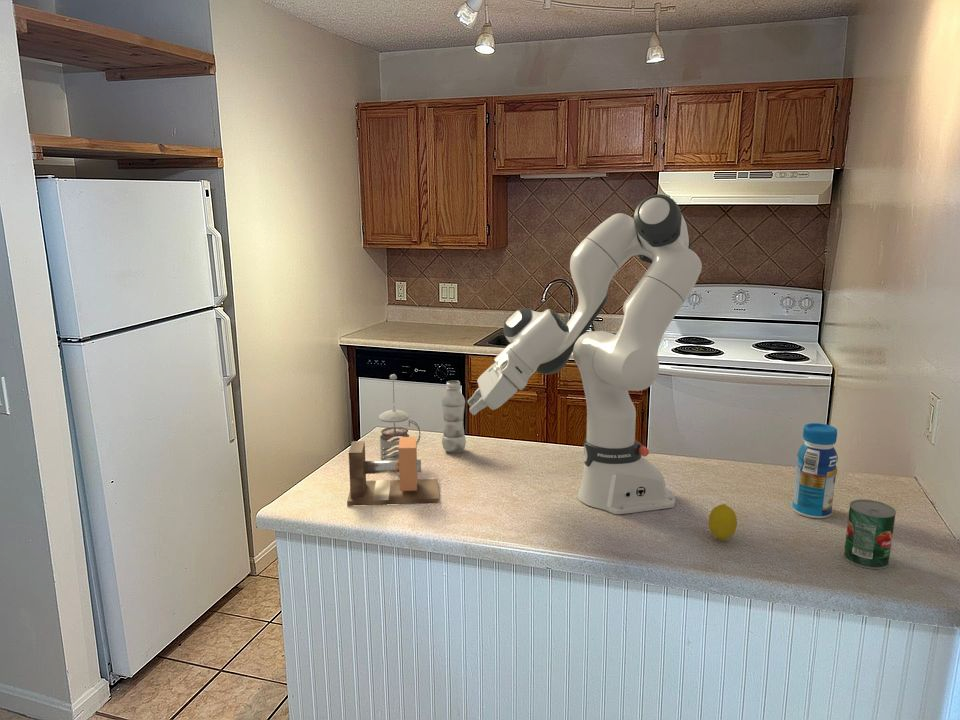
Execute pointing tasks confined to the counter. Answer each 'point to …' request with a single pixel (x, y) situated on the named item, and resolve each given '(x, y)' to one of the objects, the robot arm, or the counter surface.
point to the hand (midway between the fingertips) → (470, 408)
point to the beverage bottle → (816, 471)
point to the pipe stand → (383, 485)
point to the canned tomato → (869, 534)
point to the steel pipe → (385, 466)
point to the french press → (393, 430)
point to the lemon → (722, 522)
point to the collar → (408, 463)
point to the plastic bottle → (453, 418)
